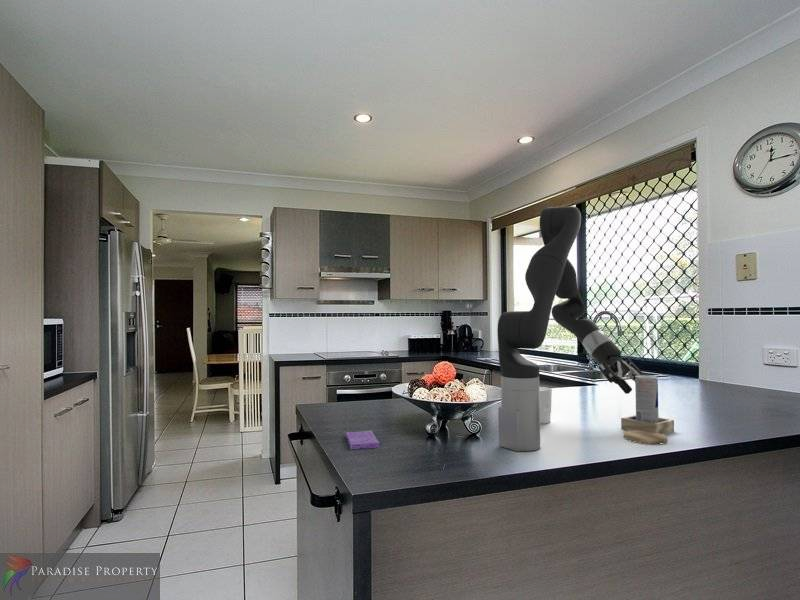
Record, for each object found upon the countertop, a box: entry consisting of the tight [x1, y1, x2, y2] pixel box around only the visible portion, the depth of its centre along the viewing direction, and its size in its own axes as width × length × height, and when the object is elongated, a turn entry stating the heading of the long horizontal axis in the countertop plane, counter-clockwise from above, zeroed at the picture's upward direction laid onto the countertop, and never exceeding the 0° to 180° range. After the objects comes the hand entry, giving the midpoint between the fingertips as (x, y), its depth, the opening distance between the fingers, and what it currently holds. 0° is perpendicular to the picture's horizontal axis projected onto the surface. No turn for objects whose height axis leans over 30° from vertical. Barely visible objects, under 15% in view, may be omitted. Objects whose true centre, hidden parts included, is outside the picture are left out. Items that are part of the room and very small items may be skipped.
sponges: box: [345, 430, 380, 450], centre depth 120 cm, size 7×13×2 cm, turn 13°
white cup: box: [539, 386, 553, 425], centre depth 143 cm, size 8×8×10 cm
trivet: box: [623, 430, 668, 445], centre depth 122 cm, size 10×10×1 cm
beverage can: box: [634, 375, 660, 424], centre depth 132 cm, size 6×6×15 cm
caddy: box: [620, 414, 675, 435], centre depth 131 cm, size 10×10×3 cm
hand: (638, 390), depth 134 cm, fingers open, 8 cm apart
